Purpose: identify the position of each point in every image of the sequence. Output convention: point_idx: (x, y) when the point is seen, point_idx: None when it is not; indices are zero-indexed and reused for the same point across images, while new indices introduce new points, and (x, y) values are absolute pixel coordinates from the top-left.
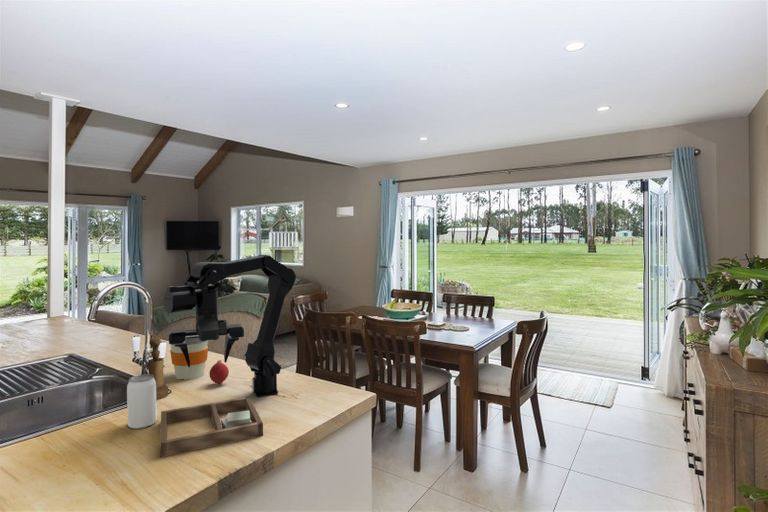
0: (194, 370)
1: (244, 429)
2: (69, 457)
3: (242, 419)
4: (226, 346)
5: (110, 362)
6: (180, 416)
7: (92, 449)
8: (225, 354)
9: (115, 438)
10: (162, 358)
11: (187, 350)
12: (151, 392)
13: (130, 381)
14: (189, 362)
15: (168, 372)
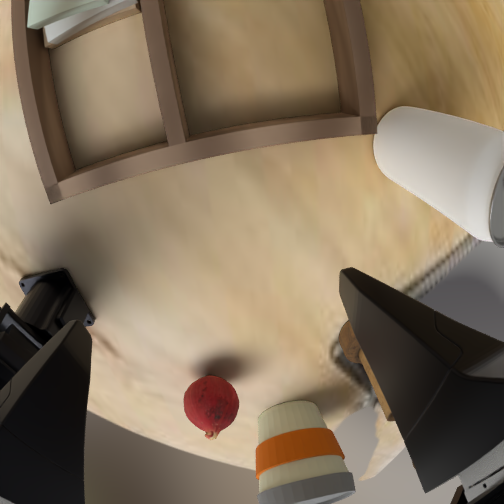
0: (281, 421)
1: None
2: (490, 36)
3: None
4: (13, 421)
5: (398, 433)
6: (303, 118)
7: (470, 45)
8: (45, 361)
9: (446, 77)
10: (387, 419)
11: (451, 359)
12: (457, 140)
13: None
14: (361, 287)
15: (329, 422)
